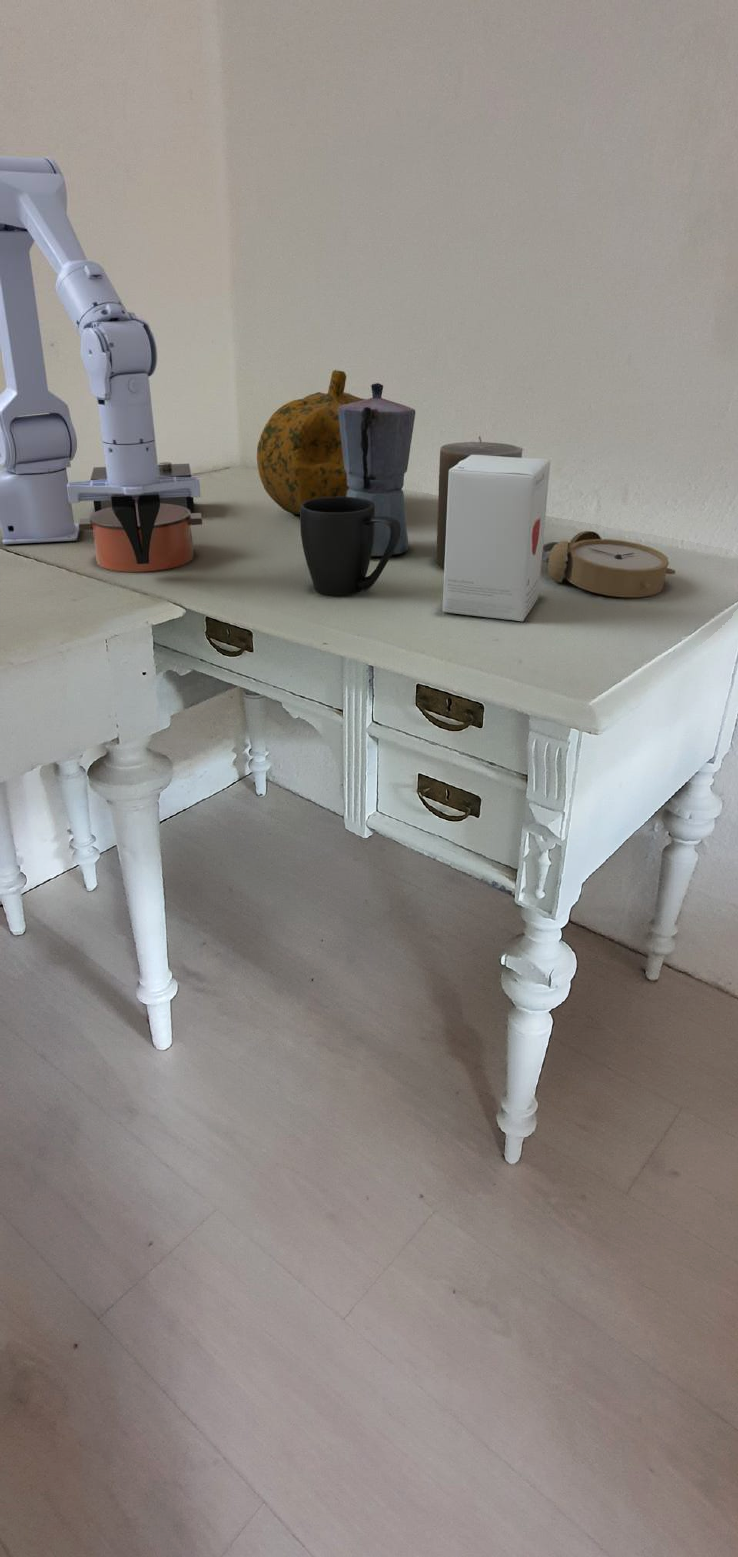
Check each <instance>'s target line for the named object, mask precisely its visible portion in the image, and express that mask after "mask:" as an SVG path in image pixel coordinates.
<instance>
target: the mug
mask: <svg viewBox="0 0 738 1557" xmlns="http://www.w3.org/2000/svg"><path fill="white" fill-rule="evenodd" d="M375 522H384V523H387V524H388V525H389V527H390V531H391V534H390V540H389V543H388V546H387V548H386V550H385V553H384V555H383V556H381V558H380V560H379V562H378V563H377V565H376V567H375V569H374V570H373V571H372V572H371V574H370V575H368V576H367V574H368V570H369V567H370V563H371V558H372V556H371V554H372V549H373V542H374V533H375ZM299 525H300V527H299V528H300V538H301V544H302V549H303V555H304V558H305V562H306V565H307V569H308V572H309V575H310V578H311V581H312V586H313V589H314V591H315V592H316V593H318V594H320V595H324V596H328V597H329V596H331V597H345V596H352V595H355V594H359V593H360V592H362V591H366V590H368V589H370V588H371V587H373V585H375V583H376V582H377V580H378V579H379V577H380V576H381V574H382V573H383V571H384V570H385V567H386V566H387V564H388V563H389V561H390V559H391V557H392V556H393V555H392V553H393V552H394V550H395V548H396V546H397V543H398V541H399V537H400V523H399V521H398V520H396V519H394V518H391V517H384V516H376V517H375V506H374V504H373V502H371V501H369V500H365V499H361V498H354V497H322V498H315V499H311V500H308V501H305V502H303V503H301V505H300V514H299Z"/></svg>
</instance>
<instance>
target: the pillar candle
mask: <svg viewBox="0 0 738 1557" xmlns="http://www.w3.org/2000/svg"><path fill="white" fill-rule="evenodd" d="M478 440H479V441H464V442H463V441H462V442H452V443H447V444H443V445H442V446H440V449H439V467H438V468H439V469H438V470H439V471H438V496H437V497H438V498H437V501H438V502H437V519H436V520H437V523H436V565H438V567H440V568H441V569H444V567H445V545H446V522H447V500H448V478H449V470H450V469H451V468H452V467H454V466H455V465H457V464H458V463H459V462H460V461H462V460H464V459H466V458H467V457H469V456H470V455H487V456H501V457H515V458H523V451H524V448H523V447H521V446H517V445H513V444H509V443H502V442H501V443H500V442H491V441H489V442H488V441H482V438H481V436H480V435H479V436H478Z"/></svg>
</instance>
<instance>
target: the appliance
mask: <svg viewBox="0 0 738 1557" xmlns="http://www.w3.org/2000/svg"><path fill="white" fill-rule="evenodd" d="M191 471H192V470H191V466H190V463H172V462H170V461H161V462H159V463H158V472H159V476H162V477H192V472H191ZM100 479H107V472H106V466H98V467H97V466H95V467H94V466H93V469H92V472H91V475H90V481H91V480H100ZM150 493H152V492H150ZM92 502H93V509H94V512H97V511H99V510H102V509H105V508H109V507H112V501H111V500H101V501H92ZM135 504H138V499H135ZM160 504H172V505H178V506H182V507H185V508H187V509H189V510H190V512H191V513H196V512H195V501H194V498H192V497H191V496H188V497H166V498H160Z"/></svg>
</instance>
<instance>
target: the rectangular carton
mask: <svg viewBox="0 0 738 1557" xmlns="http://www.w3.org/2000/svg"><path fill="white" fill-rule="evenodd" d="M550 468H551V459H546V458H535V457H522V458H515V457H501V456H487V455H470V456H469V457H467V458H466V459H464V460H462V461H460V462H459V463H458V464H457V465H455V466H454V467H452V468H451V469H450V470H449V478H448V500H447V522H446V545H445V567H444V568H443V569H444V571H443V590H442V591H443V592H442V613H449V614H457V615H466V616H475V617H483V618H491V619H499V620H500V619H501V620H508V621H517V622H523V621H524V620H525V619H526V617H527V616H528V614H529V613H530V611H531V610H532V608H533V607H534V605H535V603H536V602H537V601H538V599H539V595H540V584H541V573H542V562H543V559H542V552H543V545H544V540H545V527H546V514H547V504H548V493H549V481H550V470H551V469H550Z"/></svg>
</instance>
